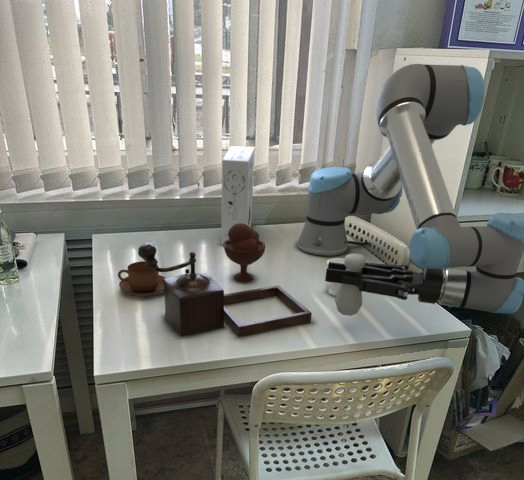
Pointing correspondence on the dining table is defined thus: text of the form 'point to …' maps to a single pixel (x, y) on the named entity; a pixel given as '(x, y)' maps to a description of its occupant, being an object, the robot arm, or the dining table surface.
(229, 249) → the ice cream bowl
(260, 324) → the tray
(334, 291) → the cup
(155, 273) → the cup and saucer
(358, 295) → the salt shaker
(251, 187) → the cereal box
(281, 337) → the dining table surface
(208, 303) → the manual coffee grinder
